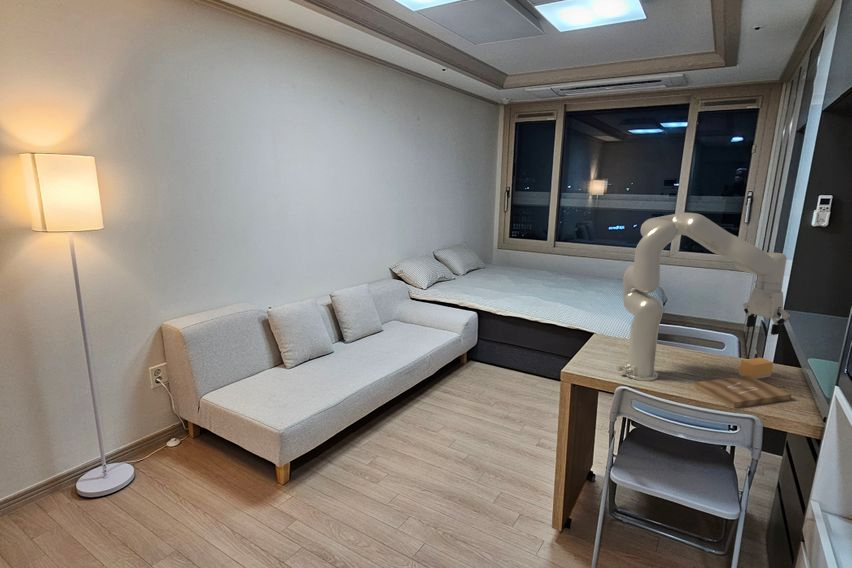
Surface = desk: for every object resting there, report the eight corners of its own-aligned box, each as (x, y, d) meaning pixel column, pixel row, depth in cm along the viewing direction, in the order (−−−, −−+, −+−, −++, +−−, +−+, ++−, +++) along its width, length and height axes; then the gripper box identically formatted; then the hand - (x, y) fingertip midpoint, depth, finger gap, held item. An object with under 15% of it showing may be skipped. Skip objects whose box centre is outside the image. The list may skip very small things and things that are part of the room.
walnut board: (733, 408, 146) (734, 402, 145) (694, 387, 161) (695, 382, 161) (790, 399, 151) (791, 394, 151) (747, 380, 167) (748, 375, 166)
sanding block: (751, 380, 167) (753, 365, 166) (738, 374, 172) (740, 360, 171) (770, 376, 170) (773, 362, 169) (757, 371, 175) (760, 357, 174)
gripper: (739, 282, 171) (733, 324, 175) (784, 291, 155) (777, 338, 158) (755, 281, 173) (748, 323, 176) (801, 290, 156) (793, 336, 160)
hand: (762, 330), depth 167 cm, fingers open, 9 cm apart
